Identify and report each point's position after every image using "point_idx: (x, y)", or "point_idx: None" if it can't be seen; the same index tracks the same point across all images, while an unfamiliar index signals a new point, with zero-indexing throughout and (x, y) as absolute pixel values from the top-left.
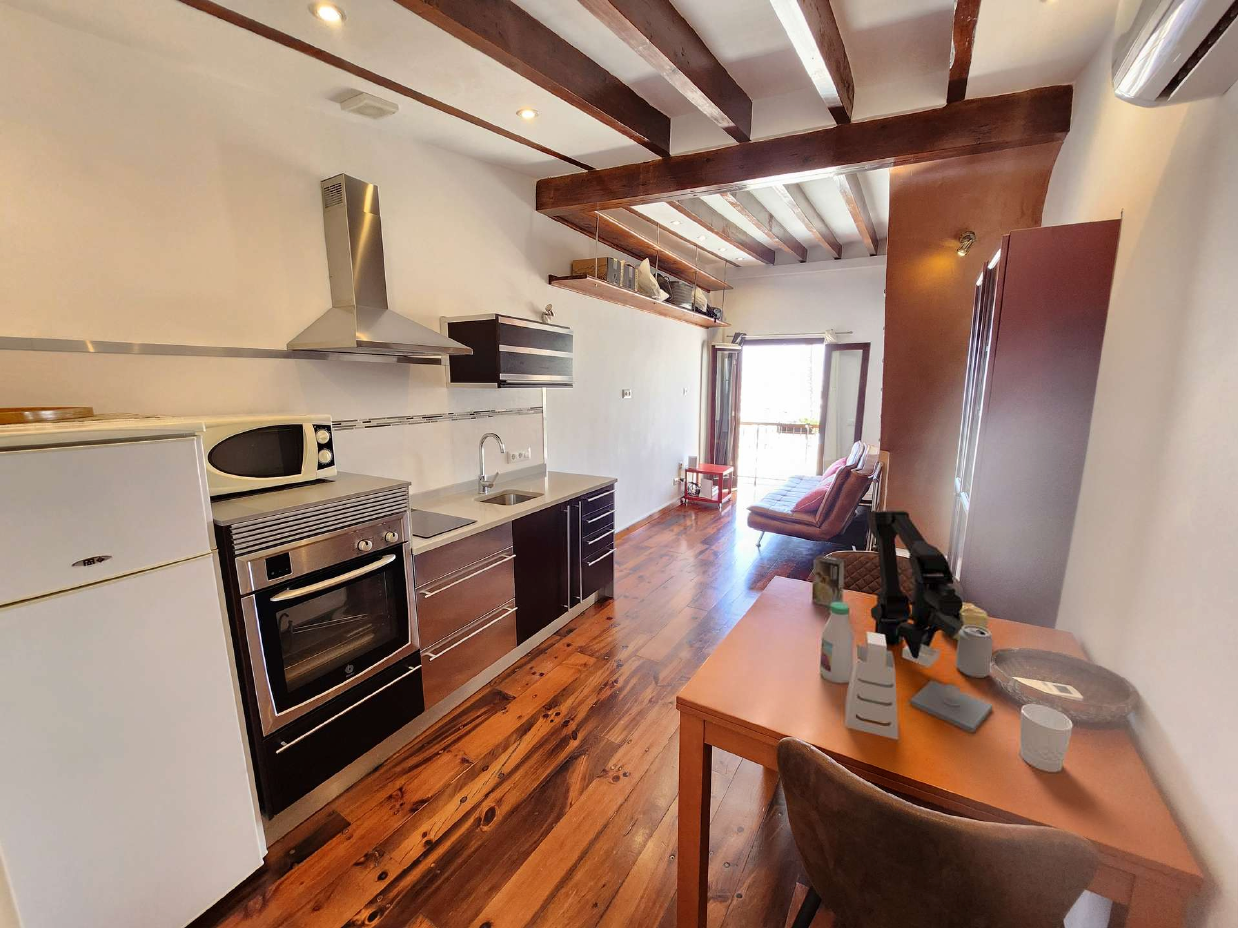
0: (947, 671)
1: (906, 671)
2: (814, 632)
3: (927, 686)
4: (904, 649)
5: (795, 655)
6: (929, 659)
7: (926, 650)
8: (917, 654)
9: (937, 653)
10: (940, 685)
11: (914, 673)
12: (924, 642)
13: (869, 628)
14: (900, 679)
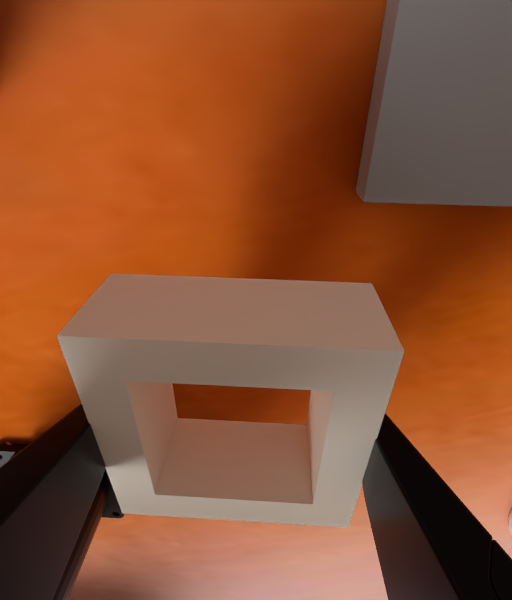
0: (65, 171)
1: None
2: (270, 595)
3: (508, 191)
4: (348, 515)
5: None
6: (385, 338)
7: (151, 400)
8: (418, 453)
9: (118, 319)
10: (421, 113)
11: None
12: (86, 479)
13: None
14: (429, 340)
